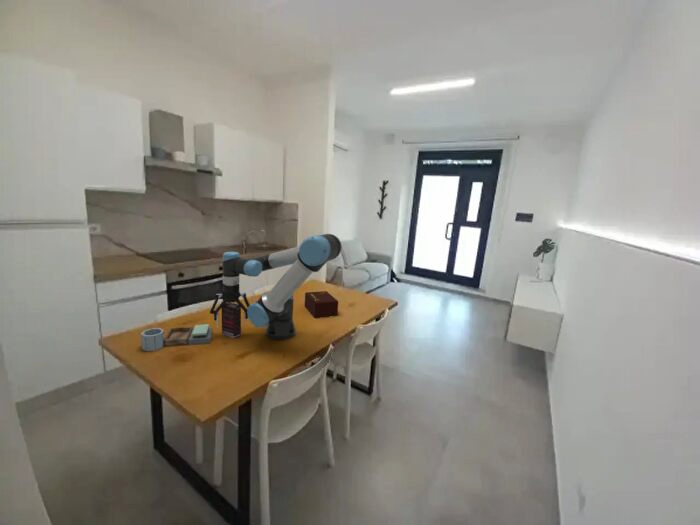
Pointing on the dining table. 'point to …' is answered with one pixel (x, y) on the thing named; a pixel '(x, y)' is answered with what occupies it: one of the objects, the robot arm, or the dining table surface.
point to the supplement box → (231, 320)
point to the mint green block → (200, 330)
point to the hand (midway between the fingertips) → (231, 325)
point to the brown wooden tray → (177, 336)
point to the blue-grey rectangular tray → (200, 338)
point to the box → (321, 304)
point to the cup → (152, 339)
